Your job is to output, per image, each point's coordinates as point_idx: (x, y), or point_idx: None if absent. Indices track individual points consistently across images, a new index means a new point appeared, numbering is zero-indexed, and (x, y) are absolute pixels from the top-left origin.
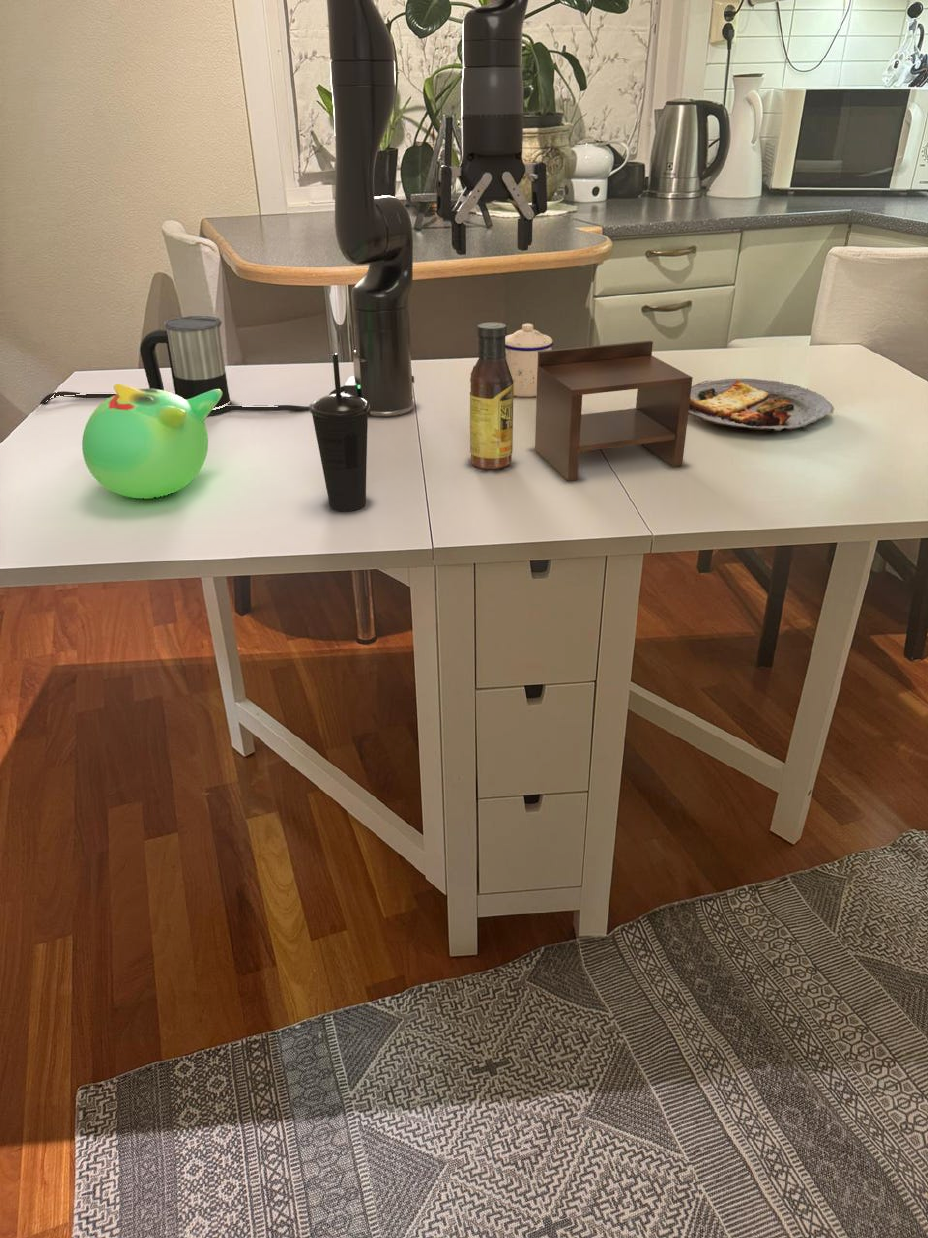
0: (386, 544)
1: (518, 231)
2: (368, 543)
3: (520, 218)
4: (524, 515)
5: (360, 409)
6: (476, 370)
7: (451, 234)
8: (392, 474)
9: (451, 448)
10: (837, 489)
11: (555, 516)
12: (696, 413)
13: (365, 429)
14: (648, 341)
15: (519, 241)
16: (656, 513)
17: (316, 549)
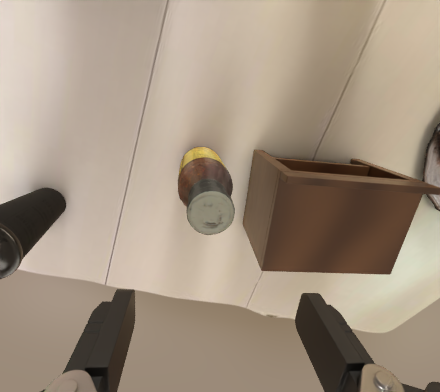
0: (72, 274)
1: (322, 332)
2: (59, 269)
3: (348, 374)
4: (183, 264)
5: (6, 274)
6: (182, 196)
7: (80, 337)
8: (101, 152)
9: (179, 108)
10: (389, 293)
11: (202, 272)
12: (433, 151)
13: (28, 251)
14: (436, 192)
15: (307, 318)
16: (266, 288)
17: (19, 266)
